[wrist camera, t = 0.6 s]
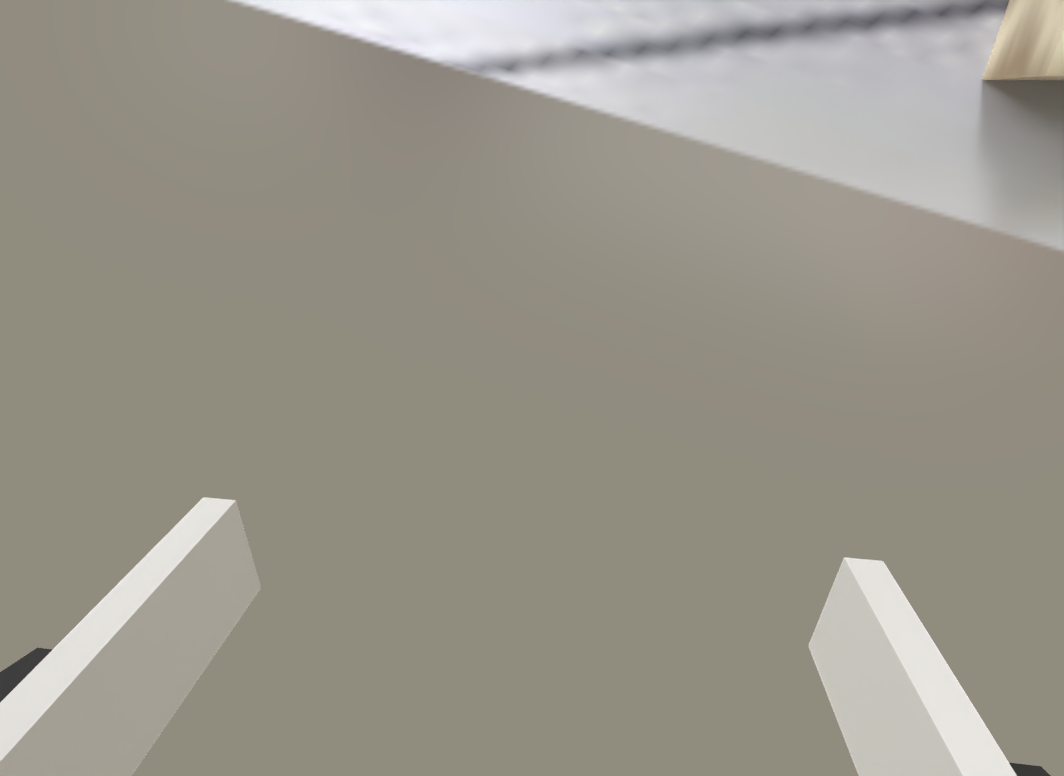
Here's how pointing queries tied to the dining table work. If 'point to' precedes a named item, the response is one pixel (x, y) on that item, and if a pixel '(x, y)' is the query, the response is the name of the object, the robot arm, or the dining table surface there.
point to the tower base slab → (1029, 42)
